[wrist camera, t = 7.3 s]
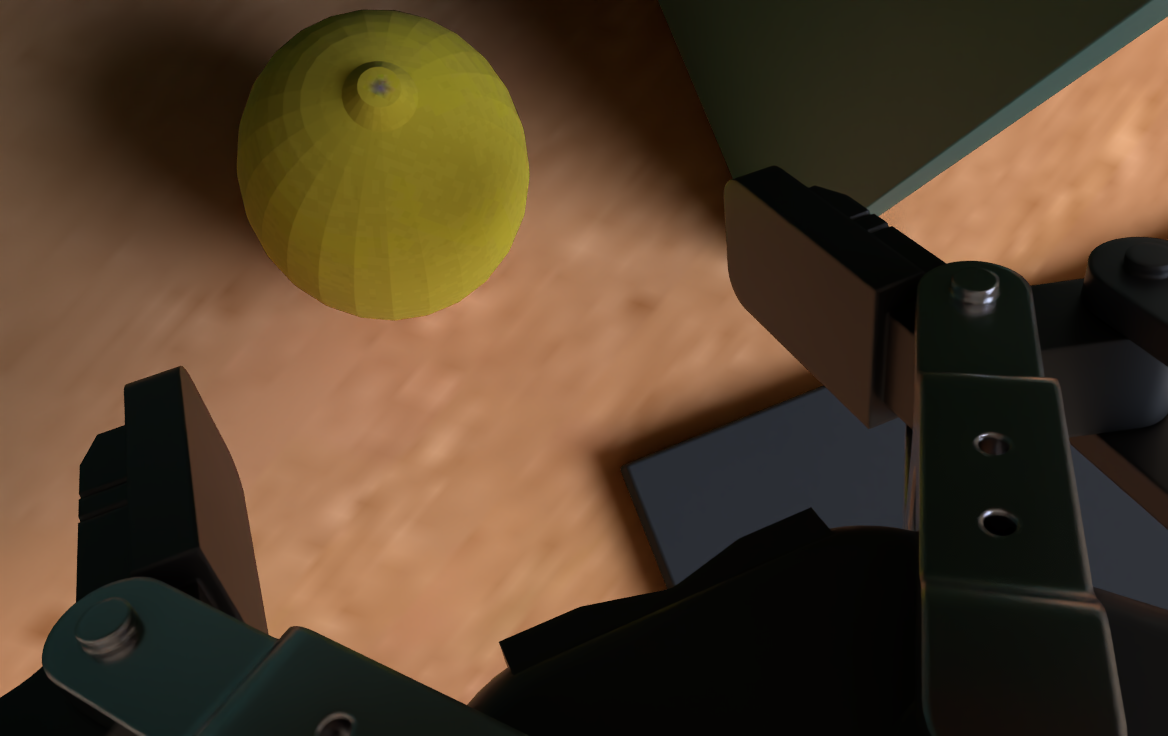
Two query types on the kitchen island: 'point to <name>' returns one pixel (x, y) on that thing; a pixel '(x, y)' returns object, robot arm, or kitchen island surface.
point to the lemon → (382, 164)
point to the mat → (844, 492)
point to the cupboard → (885, 79)
